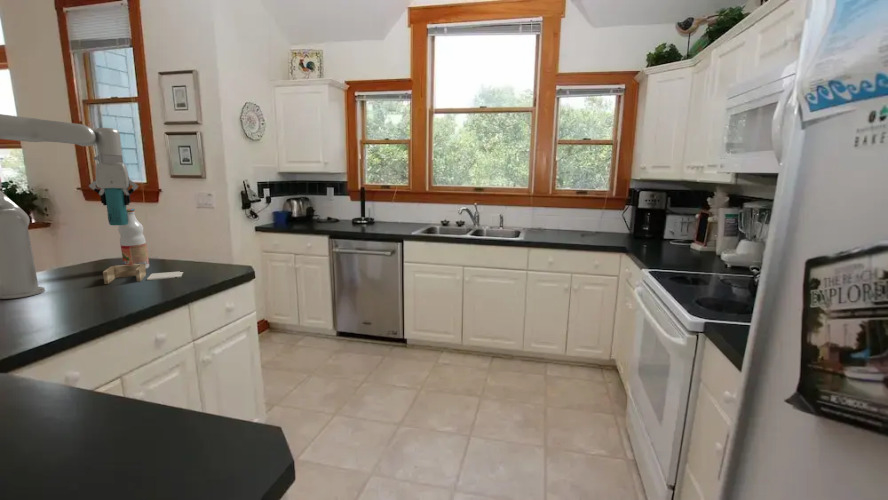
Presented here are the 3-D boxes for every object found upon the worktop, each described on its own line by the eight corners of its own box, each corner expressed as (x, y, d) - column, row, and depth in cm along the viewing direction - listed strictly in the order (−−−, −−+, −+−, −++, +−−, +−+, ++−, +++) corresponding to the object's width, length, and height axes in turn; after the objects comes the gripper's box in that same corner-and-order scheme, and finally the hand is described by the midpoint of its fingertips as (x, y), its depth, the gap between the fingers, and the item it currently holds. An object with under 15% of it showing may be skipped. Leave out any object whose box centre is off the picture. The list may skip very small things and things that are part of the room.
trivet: (147, 280, 169) (146, 278, 169) (151, 274, 178) (151, 273, 178) (180, 277, 174) (180, 276, 174) (183, 272, 183) (183, 271, 183)
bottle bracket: (104, 284, 162) (102, 272, 161) (112, 277, 173) (111, 266, 172) (140, 281, 167) (139, 269, 166) (146, 274, 178) (145, 263, 177)
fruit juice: (145, 271, 185) (136, 210, 179) (121, 272, 182) (110, 210, 176) (152, 265, 193) (144, 207, 187) (129, 267, 190) (119, 208, 184)
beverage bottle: (133, 227, 169) (127, 178, 165) (119, 229, 162) (112, 179, 158) (119, 226, 169) (112, 178, 165) (104, 228, 163) (97, 178, 159)
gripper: (79, 159, 154) (86, 205, 157) (135, 160, 162) (140, 205, 165) (86, 159, 161) (92, 204, 164) (139, 161, 168) (144, 204, 171)
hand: (116, 204), depth 164 cm, fingers closed on beverage bottle, 6 cm apart
